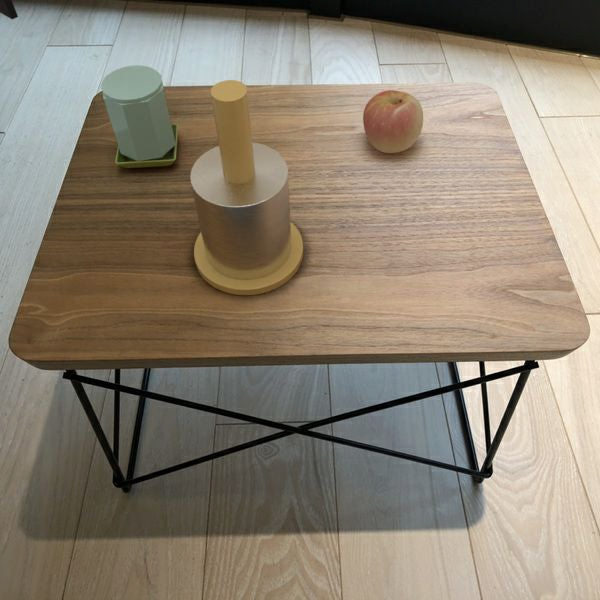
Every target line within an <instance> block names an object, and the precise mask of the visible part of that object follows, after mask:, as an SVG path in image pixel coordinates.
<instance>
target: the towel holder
mask: <svg viewBox="0 0 600 600" xmlns="http://www.w3.org/2000/svg"><path fill="white" fill-rule="evenodd" d="M248 92H249V91H248V87H247V85H246V84H245V83H243V82H242V81H239V80H236V79H227V80H221V81H219V82H217V83H215V84H214V85H213V86H212V87H211V89H210V96H211V103H212V110H213V116H214V123H215V129H216V136H217V142H218V145H217V146H214V147H213V148H211V149H208V150H207V151H206V152H204V153H203V154H201V156H199V158H197V159H196V161H195V162H194V164H193V165H192V167H191V170H190V175H189V179H190V185H191V190H192V195H193V199H194V205H195V209H196V214H197V218H198V223H199V229H200V232H199V234H198V236H197V237H196V241H195V243H194V247H193V257H194V258H193V259H194V263H195V266H196V269H197V271H198V274H199V275H200V276H201V277H202V279H204V281H205V282H206V283H207V284H209V285H210V286H211V287H213V288H215V290H216V289H217V290H219V291H221V292H223V293H227V294H230V295H237V296H255V295H261V294H264V293H265V294H266V293H269V292H271V291H274V290H276V289H278V288H280V287H281V286H284V285H285V284H286V283H288V282H289V281H290V280H291V279H292V278H293V277H294V276H295V275H296V273H297V272H298V270H299V269H300V267H301V265H302V262H303V259H304V242H303V238H302V234H301V233H300V232H301V231H299V229H298V227H296V225H295V224H294V223H293V222H292V221H291V205H290V182H289V181H290V180H289V167H288V163H287V162H286V159H285V158H284V156H283V155H282V154H280V152H279V151H277V150H275V149H274V148H272V147H270V146H268V145H266V144H263V143H258V142H254V141H253V135H252V125H251V113H250V112H251V111H250V101H249V93H248Z"/></svg>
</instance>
